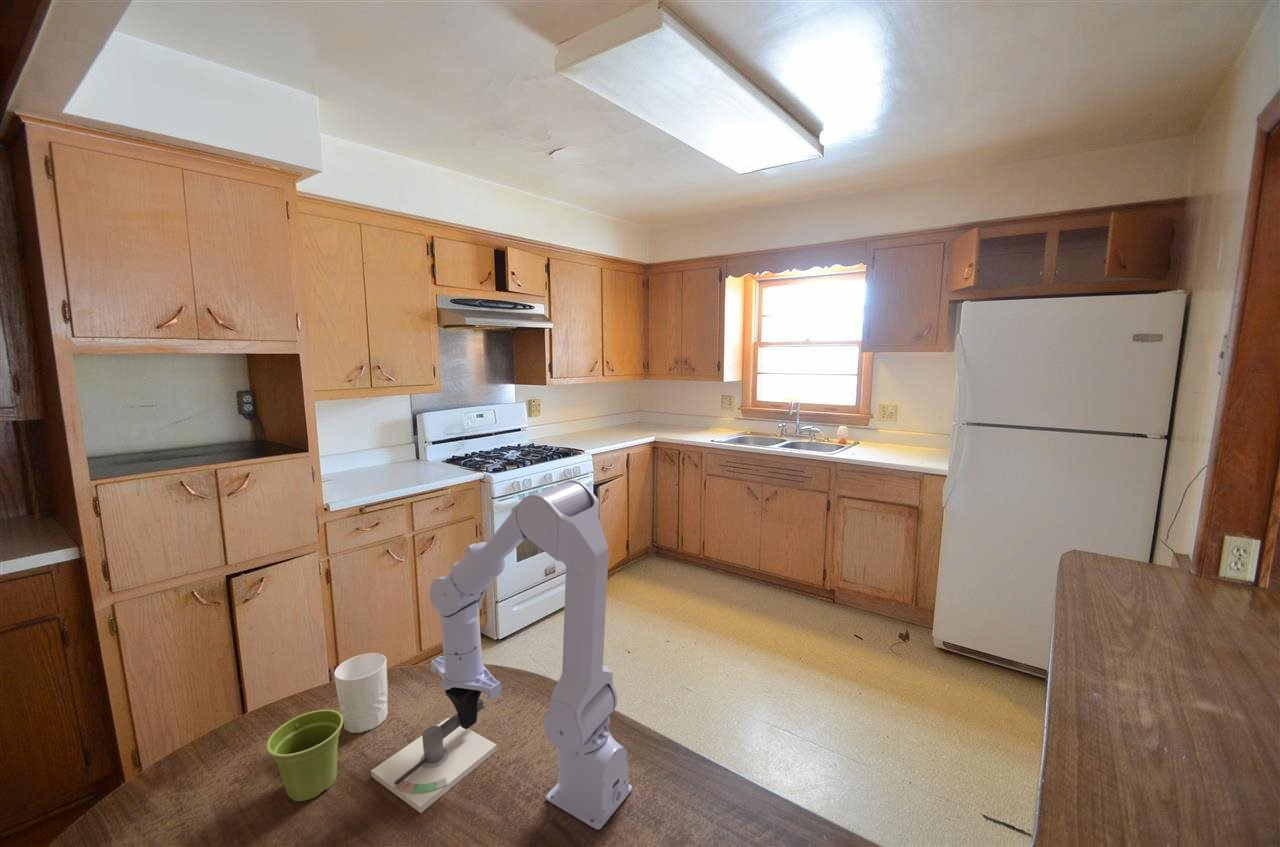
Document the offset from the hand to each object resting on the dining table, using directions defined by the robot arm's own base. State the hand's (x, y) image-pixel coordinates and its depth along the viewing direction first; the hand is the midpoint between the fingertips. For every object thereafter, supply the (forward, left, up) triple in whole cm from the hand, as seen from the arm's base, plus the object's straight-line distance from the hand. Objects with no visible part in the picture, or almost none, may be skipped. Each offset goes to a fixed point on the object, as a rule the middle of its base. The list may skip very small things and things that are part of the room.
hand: (468, 724), depth 85 cm
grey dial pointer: (+1, +5, -2) cm, 5 cm away
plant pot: (+13, +18, -3) cm, 22 cm away
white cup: (+20, +6, -3) cm, 21 cm away
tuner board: (+1, +6, -3) cm, 7 cm away
